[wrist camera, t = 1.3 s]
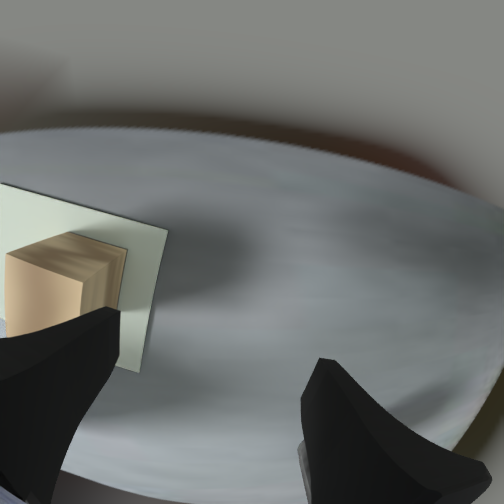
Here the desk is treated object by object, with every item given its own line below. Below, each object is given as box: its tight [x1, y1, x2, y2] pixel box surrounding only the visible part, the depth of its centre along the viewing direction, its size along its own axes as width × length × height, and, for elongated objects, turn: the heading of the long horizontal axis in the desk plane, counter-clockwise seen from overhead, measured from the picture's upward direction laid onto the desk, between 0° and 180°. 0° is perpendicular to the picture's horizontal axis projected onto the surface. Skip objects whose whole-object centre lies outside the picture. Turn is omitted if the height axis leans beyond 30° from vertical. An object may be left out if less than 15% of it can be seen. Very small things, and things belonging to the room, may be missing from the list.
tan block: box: [4, 231, 128, 337], centre depth 16 cm, size 5×5×8 cm
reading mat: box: [0, 184, 168, 373], centre depth 20 cm, size 16×12×1 cm
